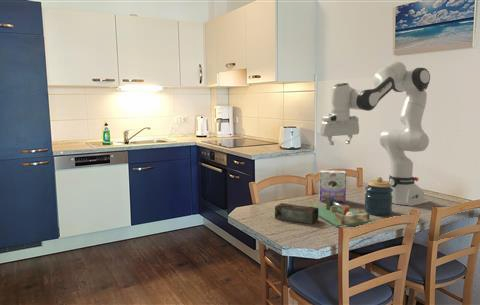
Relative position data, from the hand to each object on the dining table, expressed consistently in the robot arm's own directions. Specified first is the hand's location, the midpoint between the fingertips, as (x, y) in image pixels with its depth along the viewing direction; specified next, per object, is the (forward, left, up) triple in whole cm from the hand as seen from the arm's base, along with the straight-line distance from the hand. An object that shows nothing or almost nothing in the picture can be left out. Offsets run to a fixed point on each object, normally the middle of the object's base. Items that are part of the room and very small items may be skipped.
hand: (339, 144), depth 199 cm
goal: (+6, +22, -33) cm, 40 cm away
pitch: (+6, +11, -33) cm, 35 cm away
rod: (+6, +10, -31) cm, 33 cm away
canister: (-16, +12, -33) cm, 38 cm away
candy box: (-6, -14, -33) cm, 36 cm away
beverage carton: (+28, +10, -33) cm, 44 cm away
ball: (+6, +21, -30) cm, 37 cm away
